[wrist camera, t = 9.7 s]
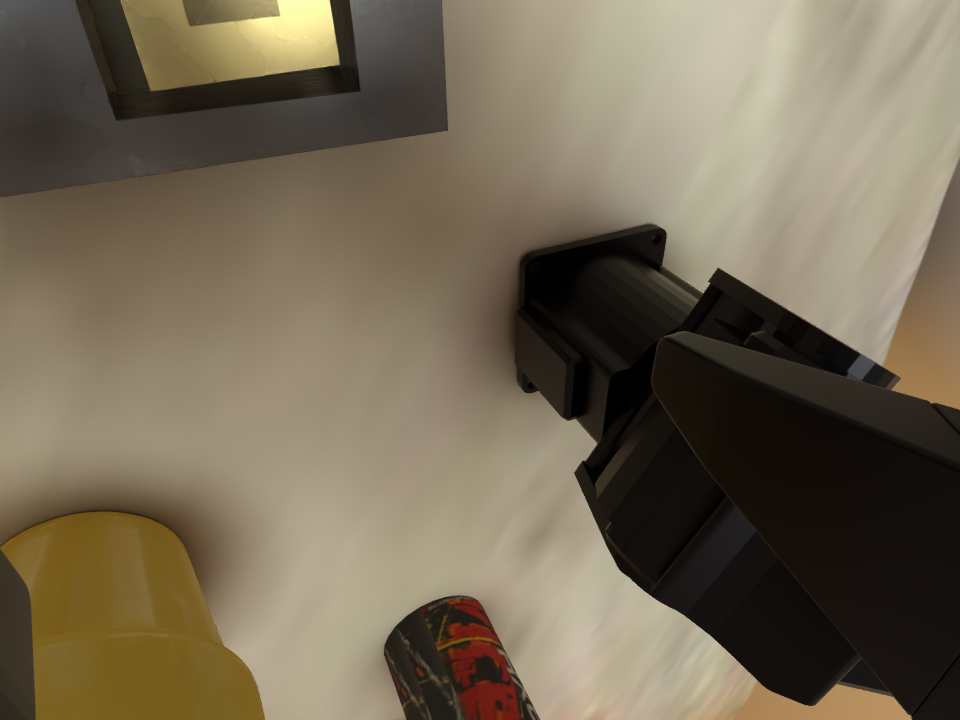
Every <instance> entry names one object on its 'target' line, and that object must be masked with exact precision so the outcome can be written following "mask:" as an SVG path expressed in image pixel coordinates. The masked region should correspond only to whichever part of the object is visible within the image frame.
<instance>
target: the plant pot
mask: <svg viewBox="0 0 960 720" xmlns="http://www.w3.org/2000/svg"><path fill="white" fill-rule="evenodd" d="M0 548H1V550H2V551H3V552H4V554H5V555H6V557H7V558H8V559H9V561H10V562H11V564H12V565H13V566H14V568H15V569H16V570H17V572H18V573H19V575H20V576H21V577H22V579H23V580H24V582H25V583H26V585H27V588H28V590H29V594H30V598H31V611H32V634H33V657H34V679H35V702H36V720H265V717H264V712H263V707H262V703H261V699H260V694H259V691H258V687H257V684H256V681H255V679H254V677H253V675H252V673H251V671H250V670H249V668H248V667H247V666H246V664H245V663H244V662H243V661H242V660H241V659H240V658H239V657H238V656H237V655H236V654H234V653H233V652H232V651H231V650H229V649H228V648H226V647H224V645H223V643H222V640H221V638H220V635H219V633H218V630H217V628H216V625H215V623H214V620H213V618H212V616H211V613H210V611H209V608H208V605H207V603H206V600H205V597H204V595H203V592H202V590H201V587H200V585H199V582H198V580H197V577H196V574H195V572H194V569H193V566H192V564H191V561H190V559H189V556H188V553H187V551H186V549H185V547H184V545H183V543H182V542H181V540H180V539H179V538H178V537H177V536H176V535H175V533H174V532H173V531H171V530H170V529H168V528H167V527H165V526H164V525H162V524H160V523H158V522H156V521H154V520H151V519H148V518H146V517H142V516H138V515H132V514H127V513H120V512H86V513H78V514H72V515H67V516H63V517H58V518H55V519H52V520H49V521H46V522H43V523H41V524H38V525H36V526H34V527H31V528H29V529H27V530H25V531H23V532H22V533H20V534H18V535H17V536H15V537H13V538H12V539H10V540H9V541H7V542H6V543H5V544H4V545H2V546H1V547H0Z"/></svg>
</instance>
